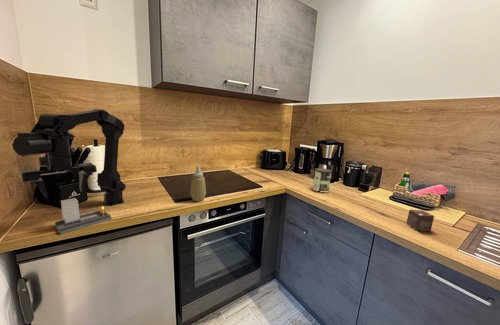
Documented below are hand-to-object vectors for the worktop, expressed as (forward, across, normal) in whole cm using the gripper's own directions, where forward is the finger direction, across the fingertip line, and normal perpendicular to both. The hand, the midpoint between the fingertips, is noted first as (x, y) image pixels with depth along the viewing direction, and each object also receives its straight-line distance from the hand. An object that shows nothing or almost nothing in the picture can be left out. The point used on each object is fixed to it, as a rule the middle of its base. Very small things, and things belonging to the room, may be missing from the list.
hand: (64, 194), depth 71 cm
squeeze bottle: (+12, -48, +14) cm, 52 cm away
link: (+11, -3, +1) cm, 11 cm away
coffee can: (+13, -115, +58) cm, 129 cm away
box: (+12, -93, +107) cm, 142 cm away
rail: (+12, -4, +1) cm, 13 cm away
